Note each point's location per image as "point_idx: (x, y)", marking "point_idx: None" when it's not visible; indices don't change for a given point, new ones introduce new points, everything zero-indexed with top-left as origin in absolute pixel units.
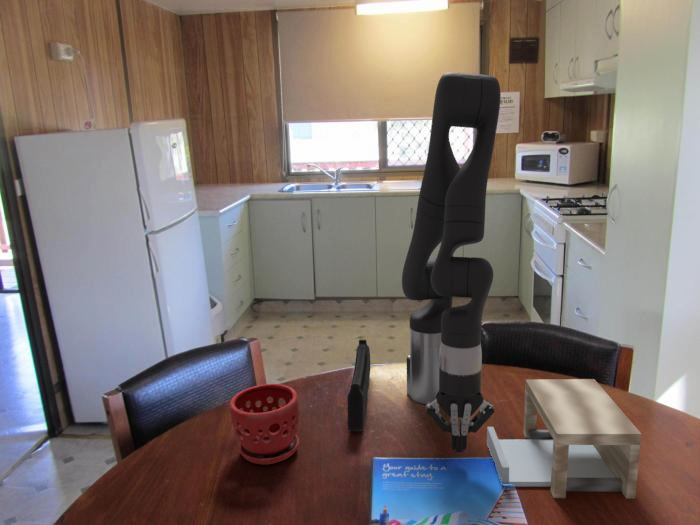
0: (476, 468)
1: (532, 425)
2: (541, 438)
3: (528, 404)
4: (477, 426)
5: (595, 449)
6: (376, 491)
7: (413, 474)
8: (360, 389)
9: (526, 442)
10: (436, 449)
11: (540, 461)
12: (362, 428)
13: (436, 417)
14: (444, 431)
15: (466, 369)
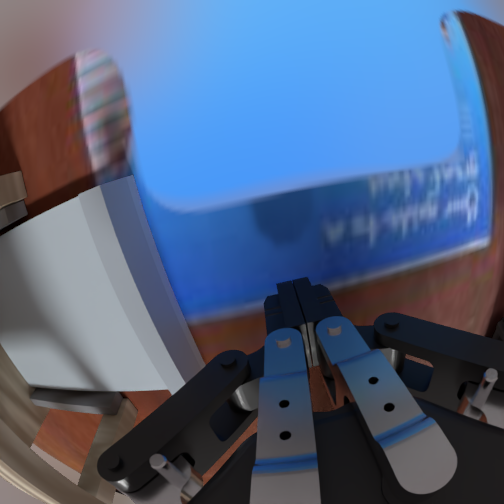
0: (223, 254)
1: (106, 422)
2: (94, 394)
3: None
4: (209, 380)
5: (10, 358)
6: (476, 96)
7: (417, 178)
8: None
9: (112, 381)
10: (353, 321)
11: (59, 310)
12: (500, 325)
13: (474, 351)
14: (392, 315)
15: None
